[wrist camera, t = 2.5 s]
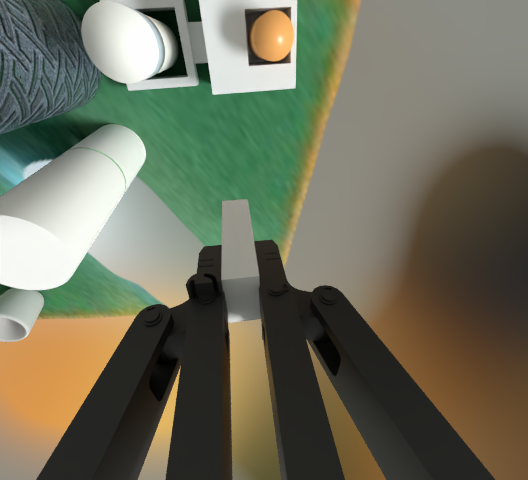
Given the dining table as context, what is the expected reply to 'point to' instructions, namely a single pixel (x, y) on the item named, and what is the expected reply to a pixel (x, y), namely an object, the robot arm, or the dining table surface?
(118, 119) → the dining table surface
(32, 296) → the cup
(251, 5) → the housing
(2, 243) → the cylindrical container
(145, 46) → the cylinder
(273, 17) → the brown egg
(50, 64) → the vase
